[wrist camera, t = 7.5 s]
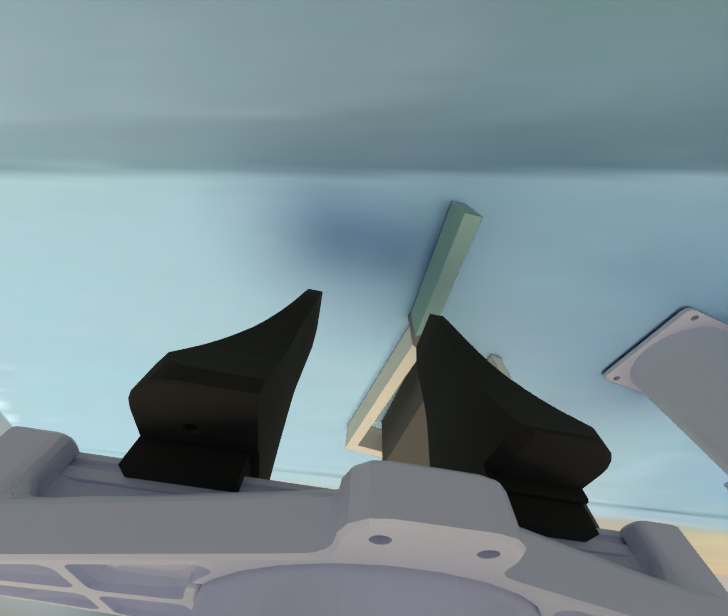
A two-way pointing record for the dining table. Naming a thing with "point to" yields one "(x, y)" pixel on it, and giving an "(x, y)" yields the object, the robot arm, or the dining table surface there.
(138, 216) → the dining table surface
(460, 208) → the sage green post
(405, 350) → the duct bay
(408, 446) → the dark brown rectangular block
